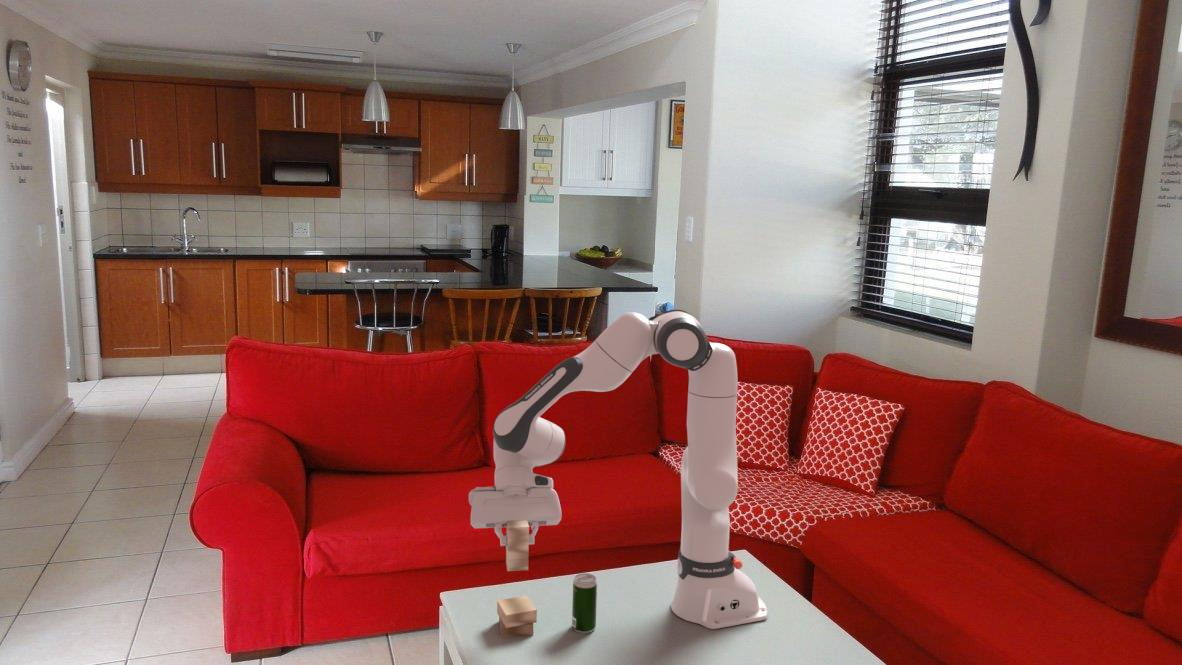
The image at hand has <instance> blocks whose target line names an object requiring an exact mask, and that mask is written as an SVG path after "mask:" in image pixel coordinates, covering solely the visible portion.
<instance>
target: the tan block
mask: <svg viewBox="0 0 1182 665" xmlns="http://www.w3.org/2000/svg"><path fill="white" fill-rule="evenodd" d="M505 528H506V533H505V534H506V535H505V536H507V542H508V543H507V546H505V557H506V558H505V566H506V570H507V572H516V571H518V572H520V571H529V546H530V544H529V534H530V526H529V525H528V521H527V520H515V521H507V524H506V527H505Z"/></svg>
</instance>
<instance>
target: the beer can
mask: <svg viewBox="0 0 1182 665" xmlns="http://www.w3.org/2000/svg"><path fill="white" fill-rule="evenodd" d="M597 595H598V581H597V577H596V576H595V575H594V574H593V573H586V572H585V573H583V572H582V573H578V574H576V575H574V577H573V581H572V605H571V606H572V607H571V608H572V609H571V610H572V611H571V627H572V630H575V631H574V632H576V633H577V632H578V634H581V633H582V634H584V635H586V634H585V633H587V634H590V633H593V632H594V630H596V626H597V605H598V604H597V603H598V602H597V599H598V596H597ZM592 631H593V632H592ZM582 634H581V635H582Z"/></svg>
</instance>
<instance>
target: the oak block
mask: <svg viewBox="0 0 1182 665" xmlns="http://www.w3.org/2000/svg"><path fill="white" fill-rule="evenodd" d="M496 605H497V606H496V607H497V608H496V612H497V615H498V616H499V617H500V618H501V620H502V622H503V624H504V625H505V627H506V628H509V627H514V626H520V625H525V624H531V623H533V624H534V623H537V621H538V620H537V618H538V617H537V615H538V613H537V611H538V610H537V608H536V606H535V605H534V604H533V602H532V601H531V599H530V598H529V596H528V595H521V596H515V597H509V598H503V599H497V602H496ZM499 617H498V618H499Z"/></svg>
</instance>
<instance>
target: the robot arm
mask: <svg viewBox="0 0 1182 665" xmlns="http://www.w3.org/2000/svg"><path fill="white" fill-rule="evenodd" d="M658 354H659V355H660V357H662V359H663V360H664V361H665V362H667V363H669V364H671V365H672V366H675V367H679V368H682V369H685V370H688V391H687V412H686V430H687V431H686V432H687V446H686V447H685V449H684V451H683V453H682V456H681V463H680V464H681V465H680V467H681V468H680V490H681V492H680V494H681V496H680V497H681V499H680V500H681V533H680V534H681V535H680V536H681V537H680V548H679V550H678V558H677V565H676V568H677V575H678V576H677V583H676V588H675V590H674V591H675V592H674V596H673V598H672V601H671V603H670V609H671V611H672V612H673V614H675V615H676V616H678V618H681V619H683V620H685V621H687V622H691V623H695V624H698V625H701V626H703V627H705V628H707V629H709V630H717V629H721V628H722V629H723V628H726V627H727V628H728V627H732V626H733V627H734V626H737V625H738V626H739V625H743V624H749V623H755V622H759V621H760V622H761V621H765V620H767V618H768V608H767V606H766V604H765V602H764V601H763V599H762V598H761V597H760V596H759V595H758V594H759V593H758V590H757V588H756V585H755V584H754V582H753V581H752V580H751V578H750V577H749V576H747V574H745V573H744V572H742V571H741V569H742V568H743V561H741V559H740V558H738V557H737V556H736V554H734V553H733V552H731V551H730V550H729V548H730V546H729V545H730V529H731V528H730V526H731V520H730V510H729V509H730V508H729V507H730V506H731V505H732V504H733V503H734V501H735V500H736V499H737V495H738V491H739V486H738V485H739V483H738V482H739V481H738V447H737V432H736V430H737V428H736V427H737V426H736V425H737V409H738V408H737V407H738V388H739V387H738V386H739V383H738V382H739V381H738V376H739V375H738V366H737V359H736V358H737V357H736V353H735V352H734V350H732V348H731V347H729V346H728V345H726V344H723V343H719V342H710V340H709V338H708V336H707V335H706V332H705V330H704V329H703V327H702V325H701V323H700V322H699V320H698V319H696V318H695V317H694V316H693V315H692V314H690V313H689V312H688V311H686V310H682V309H671V310H667V311H664V312H662V313H660V314H656V315H653V316H651V317H649V318H647V316H645V315H643V314H641V313H639V312H636V311H627V312H624V313H622V314H621V315H620V316H619V317H617V318H616V319H615V320H614V321H613V322H612V323H611V324H610V325H609V326H607V327H606V328H605V329H604V330H603V331H602V332H601V333H600V334H599V336H598V337H597V338H596V339H595V340H594V341H593V342H592V343H591V344H590V345H589V346H588V347H586V348H585V349H584V350H583V351H582V352H580V353H578V354H576V355H574V356H572V357H571V356H570V357H567V358H566V359H564V360H562V361H561V362H559V363H558V364H557V365H556V366H554V367H553V368H552V369H551V370H550V371H549V372H547V373H546V374H544V376H543V377H541V379H540V380H539V381H538V382H537V383H535V384H534V385H533V386H532V387H531V388H529V390H527V392H526V393H524V394H523V395H522V396H520V398H518V399H517V400H516V401H515V402H512V403H511V404H510V405H508V406H506V407H505V408H503V410H501V411H500V412H499V413H498V415H496V417H495V420H494V422H493V426H492V435H493V446H492V447H493V450H492V451H493V460H494V464H495V470H494V475H493V476H494V486H483V487H482V486H476V487H475V488H473V489H472V490H470V491H469V493H468V503H469V505H470V506H471V510H470V511H471V512H470V526H472V527H473V529H489V528H491V529H494V533H495V534H496V536H497V538H498V539H500V540H499V541H500V542H499V543H500V547H504V546H505V547H506V546H507V543H508V542H507V536H506V535H504V534H503V532H502V528H506V524H507V521H515V520H527V521H528V525H529V527H531V530H532V532H531V534H530V533H529V545H535V543H536V542H535V536H536V534H537V532H538V530H539V527H541V526H557V525H558V524H559V523H560V521H561V520H562V516H563V515H562V507H561V504H560V503H561V502H560V499H559V495H558V493H557V491H556V490H555V489H554V480H553V478H552V477H549V476H545V475H543V474H542V475H541V474H537V473H534V472H533V469H534V468H535V467H543V466H546V465H547V466H548V465H550V464H552V463H554V462H556V461H558V460H559V458H560V457H561V456H562V454H563V453H564V451H565V447H566V443H567V442H566V440H567V438H566V434H565V431H564V429H563V428H562V427H560V425H559V426H558V425H557V424H555V423H554V422H551V421H550V420H547V419H545V418H542V417H541V416H542V415H543V414H544V413H545V412H546V411H547V410H548V409H549V408H551V407H552V406H553V405H554V404H555V403H557V401H559V399H561V398H562V397H563V396H565V395H567V394H569V393H572V392H573V393H574V392H580V391H581V392H583V391H586V392H596V393H597V392H598V393H604V392H610V391H614V390H616V389H617V388H618V387H620V386H621V385H623V383H624V382H626V380H627V379H628V378H629V377H630V376H631V375H632V373H633V372H634V371H635V370H636V369H637V367H638V366H639V365H640V364H641V362H643V361H644V360H645V359H647V358H648V357H649V356H652V355H658Z"/></svg>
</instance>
